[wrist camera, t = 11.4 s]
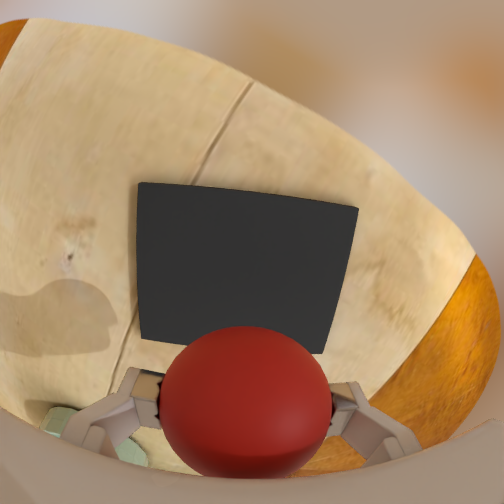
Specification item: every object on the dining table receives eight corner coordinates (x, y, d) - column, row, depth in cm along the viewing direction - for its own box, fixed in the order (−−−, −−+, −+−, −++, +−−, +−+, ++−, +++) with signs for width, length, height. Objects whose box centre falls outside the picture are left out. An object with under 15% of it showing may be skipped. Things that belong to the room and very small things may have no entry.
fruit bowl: (69, 449, 30) (60, 470, 25) (34, 389, 25) (18, 413, 20) (156, 475, 31) (151, 500, 26) (138, 424, 26) (128, 458, 21)
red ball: (177, 394, 13) (157, 497, 7) (174, 288, 11) (121, 407, 5) (295, 401, 13) (318, 500, 7) (325, 301, 11) (390, 413, 5)
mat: (143, 333, 22) (141, 338, 21) (141, 182, 18) (138, 182, 18) (320, 348, 24) (322, 354, 23) (354, 206, 20) (359, 208, 19)
